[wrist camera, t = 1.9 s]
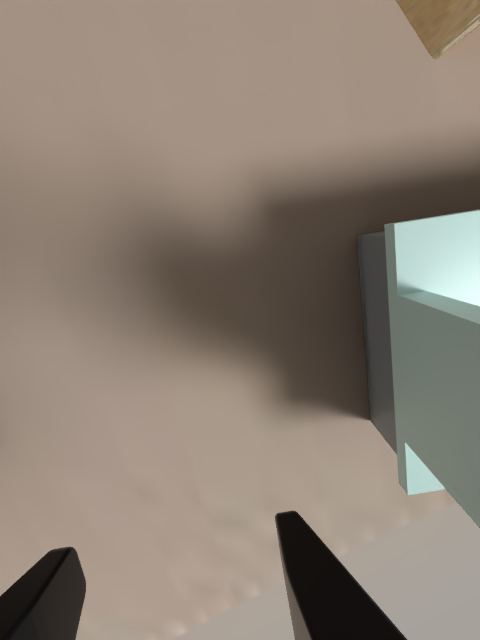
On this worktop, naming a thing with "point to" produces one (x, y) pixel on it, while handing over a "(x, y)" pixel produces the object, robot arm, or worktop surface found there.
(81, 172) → the worktop surface
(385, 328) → the parts tub
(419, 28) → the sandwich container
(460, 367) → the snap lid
